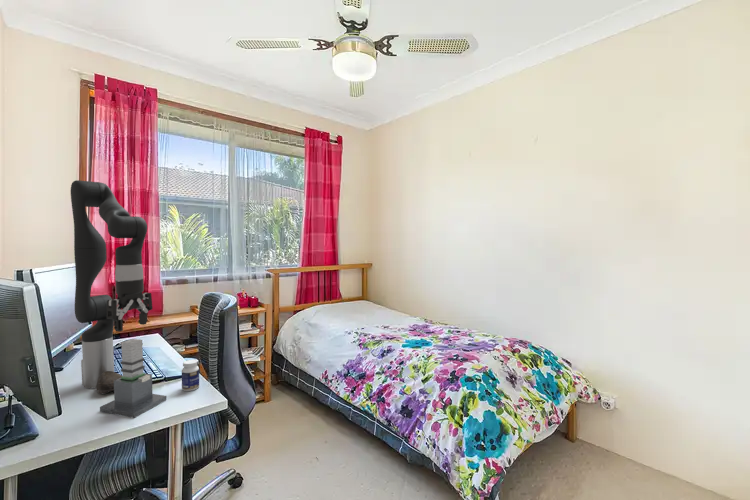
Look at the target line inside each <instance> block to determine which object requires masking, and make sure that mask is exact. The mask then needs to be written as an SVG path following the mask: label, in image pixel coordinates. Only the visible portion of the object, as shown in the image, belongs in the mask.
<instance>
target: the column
mask: <svg viewBox="0 0 750 500" xmlns="http://www.w3.org/2000/svg"><path fill="white" fill-rule="evenodd" d="M120 343H121V361H120V365H121V366H122V368H121V369H120V372H121V373H122V377H121V379H123V381H130V382H133V381H135V380H137V379H138V378H140V377H142V376H144V375H145V374H146V373H145V372H144V369H145V368H146V367H145V365H144V361H145V358H144V354H143V351H144V350H143V339H140V338H139V339H138V338H131V339H128V340H125V341H121V342H120Z"/></svg>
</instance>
